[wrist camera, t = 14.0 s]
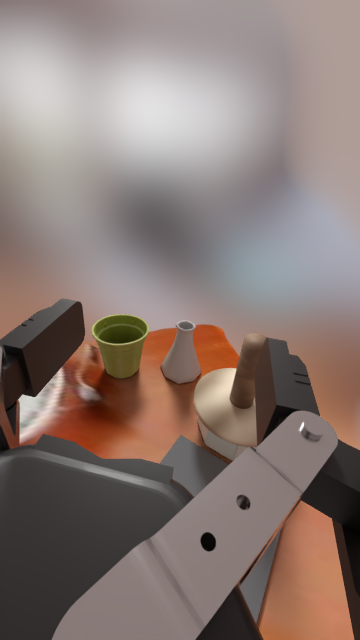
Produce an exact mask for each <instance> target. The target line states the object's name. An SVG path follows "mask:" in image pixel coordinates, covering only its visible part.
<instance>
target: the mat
mask: <svg viewBox="0 0 360 640" xmlns="http://www.w3.org/2000/svg"><path fill="white" fill-rule="evenodd" d="M160 464H162V465H166V466H170V467H174V468H173V475H172V479H174V480H175V481H177V482H179V483H180V484H181V485H183V486H184V487H185V488H186V489H187V490H188V491H189V492H190V493H191V494H192V495H193V496H194V497H196V496H197V495H198V494H199V493H200V492H201V491H202V490H203V489H204V488H205V487H206V486H207V485H208V484H209V483H210V482H212V481H213V480H214V479H215V478H216V477H217V476H218V475H219V474H220V473H221V472H222V471H223V470H224V469H225V468H226V467H227V466H228V465H229V464H228V463H226V462H224V461H223V460H221V459H219V458H218V457H216V456H214V455H213V454H211V453H210V452H208V451H206V450H205V449H203V448H201V447H200V446H198V445H196V444H195V443H193V442H191V441H190V440H188V439H187V438H185V437H183V436H182V435H181V436H180V437H179V438H178V440H177V441H176V442H175V444H174V445H173V446H172V448H171V449H170V450H169V452H168V453H167V455H166V456H165V457H164V459H163V460H162V461H161V463H160ZM280 532H281V529H280V531H279V532H278V534H277V535H276V536H275V538H274V539H273V541H272V542H271V544H270V545H269V546H268V548H267V549H266V551H265V552H264V554H263V555H262V557H261V558H260V560H259V561H258V562H257V564H256V565H255V567H254V568H253V570H252V571H251V572H250V574H249V575H248V577H247V578H246V579H245V581H244V582H243V584H242V585H241V586H240V590H241V592H242V594H243V596H244V598H245V601H246V603H247V605H248V607H249V609H250V611H251V614H252V616H253V618H254V620H255V622H256V623H257V619H258V615H259V612H260V608H261V604H262V600H263V596H264V593H265V589H266V585H267V581H268V577H269V574H270V570H271V566H272V562H273V558H274V555H275V551H276V547H277V543H278V539H279V535H280Z"/></svg>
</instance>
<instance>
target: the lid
mask: <svg viewBox="0 0 360 640" xmlns="http://www.w3.org/2000/svg"><path fill="white" fill-rule="evenodd" d="M266 338H267V337H266V336H264V335H261V334H257V333H249V334H247V335H245V338H244V341H243V345H242V349H241V353H240V357H239V361H238V365H237V369H234V368H224V369H218V370H214V371H212V372H209V373H208V374H206V375H205V376H203V377H202V378H201V379H200V380H199V382H198V383H197V385H196V388H195V392H194V400H193V401H194V408H195V411H196V414H197V416H198V417H199V419H200V421H201V422H202V423H203V425H204V426H205V427H206V428H207V429H208V430H209V431H211V432H212V433H213V434H214V435H216V436H217V437H219V438H221V439H223V440H225V441H227V442H229V443H232V444H235V445H239V446H244V447H257V430H256V406H255V383H254V379H255V371H256V367H257V364H258V360H259V357H260V354H261V351H262V348H263V345H264V342H265V339H266Z"/></svg>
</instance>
